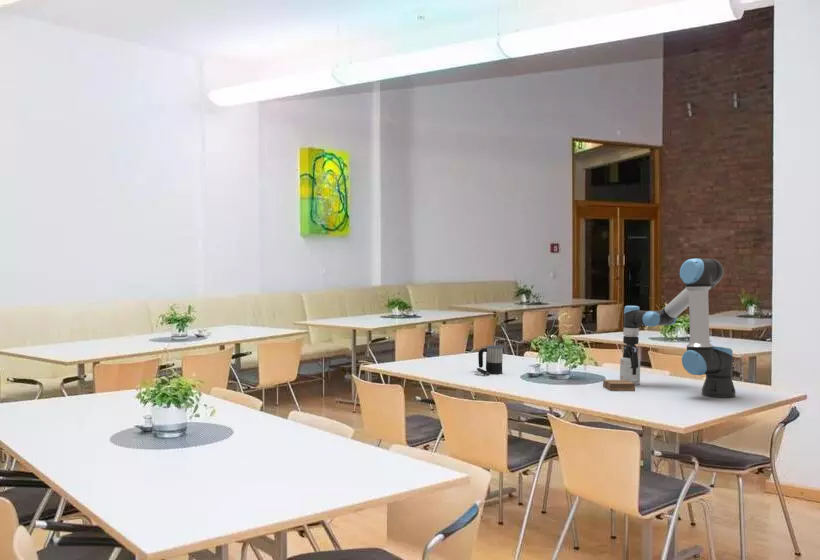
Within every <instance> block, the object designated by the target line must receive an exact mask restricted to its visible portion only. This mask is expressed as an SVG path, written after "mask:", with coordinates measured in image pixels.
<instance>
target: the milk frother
mask: <svg viewBox="0 0 820 560" xmlns="http://www.w3.org/2000/svg"><path fill="white" fill-rule="evenodd" d="M503 350H504V346H503V345H502V346H501V345H487V346H486V347H483V348H481V349H479V351H478V353H477V355H478V367H476V371H477V372H479V373H481V374H482V375H484V376H490V374H491V375H501V374H503V359H504V358H503V357H504V351H503ZM484 353H486V354H485V356H486V357H485V361H486V362H485V369H483V367H484V357H483V356H484Z"/></svg>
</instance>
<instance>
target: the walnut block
mask: <svg viewBox="0 0 820 560" xmlns="http://www.w3.org/2000/svg"><path fill="white" fill-rule="evenodd" d="M602 380H603V381H602V384H603V385H602V386H603V389H607V390H608V391H610V392H636V385H635V383H633V382H630V381H628V380H620V379H602Z"/></svg>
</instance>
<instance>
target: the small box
mask: <svg viewBox="0 0 820 560" xmlns="http://www.w3.org/2000/svg"><path fill="white" fill-rule="evenodd" d="M619 359H620V360H619V365H620V366H619V380H628V381H630V382H633V383H635V386H636V385H640V384H641V358H638V366H639V367H638V368H637V374H636V381H631V368H630V367H632V366H631V360H630V358H623V357H620V358H619Z"/></svg>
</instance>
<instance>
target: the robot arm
mask: <svg viewBox="0 0 820 560" xmlns="http://www.w3.org/2000/svg"><path fill="white" fill-rule="evenodd" d="M724 274H725V273H724V268H723V265H722V263H721V262H720V261H719V260H716V259H714V258H700V257H699V258H697V257H695V258H689V259H687V260H685V261H684V262H683V263H682V264H681V266H680V268H679V278H680V279H681V280H682V282H683V283H684V286H685V288H684V289H683V290H682V291H680V292H679V293H678V294H677V296H675V297H674V298H672V300H671V301H670V302H668V303H667V304H666V305H665V306H664V307H663V308H662V309H661V310H640V306H638V305H625V306H624V309H623V336H622V337H623V339H622V342H623V344H624V345H623V354H622V358H630V360H631V366H632V367H630V368H631V381H636V374H637V368H638V367H639V366H638V359H639V355H638V348H637V347H636V345H639V338H640V337H639V332H640V326H644V327H649V328H650V327H651V328H652V327H657V326H670V325H673V324H675V323H676V321H677V318H678V317H679V315H680V314H681V313H683V312H684V311H685V310H686V309H687V308H688V309H689V310H688V313H689V320H688V321H689V343H687V344H686V351H685V352H684V353H683V354H682V356H681V364H682V367H683V369H684V370H686V373H688V374H690V375H692V376H703V375H705V379H704V382H703V385H702V387H701V395H702V396H703V395H704V396H706V395H707V397H713V398H735V397H736V395H737V393H736V388H735V386H734V382H733V362H734V361H733V358H734V355H733V354H734V353H733V349H732V348H731V347H730V348H729V347H723V346H714V345H713V344H712V343H711V341H710V312H709V309H710V308H709V291H710V290H712V289H713V288H714V287H716V286H717V285H718V284H719V282H721V280H722V279H723V276H724Z"/></svg>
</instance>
